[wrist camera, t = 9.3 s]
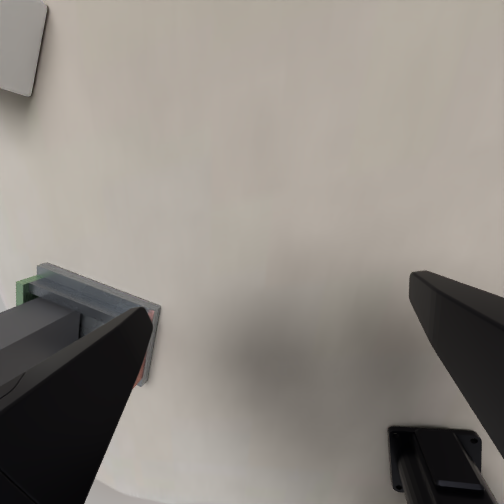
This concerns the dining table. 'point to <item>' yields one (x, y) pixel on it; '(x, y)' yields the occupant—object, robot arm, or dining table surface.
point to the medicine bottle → (20, 43)
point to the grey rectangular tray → (86, 302)
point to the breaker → (34, 335)
